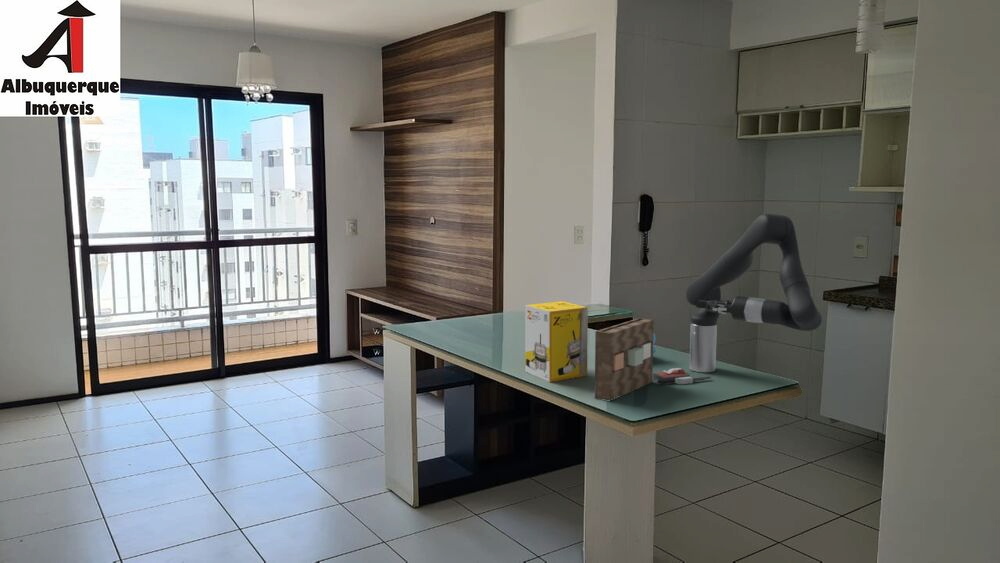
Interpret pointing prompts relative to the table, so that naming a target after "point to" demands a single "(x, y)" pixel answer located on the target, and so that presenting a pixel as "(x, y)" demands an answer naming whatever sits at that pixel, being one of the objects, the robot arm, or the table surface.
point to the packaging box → (556, 340)
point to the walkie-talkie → (675, 377)
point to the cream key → (646, 350)
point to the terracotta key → (618, 361)
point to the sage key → (635, 356)
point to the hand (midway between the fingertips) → (697, 303)
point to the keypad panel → (620, 341)
